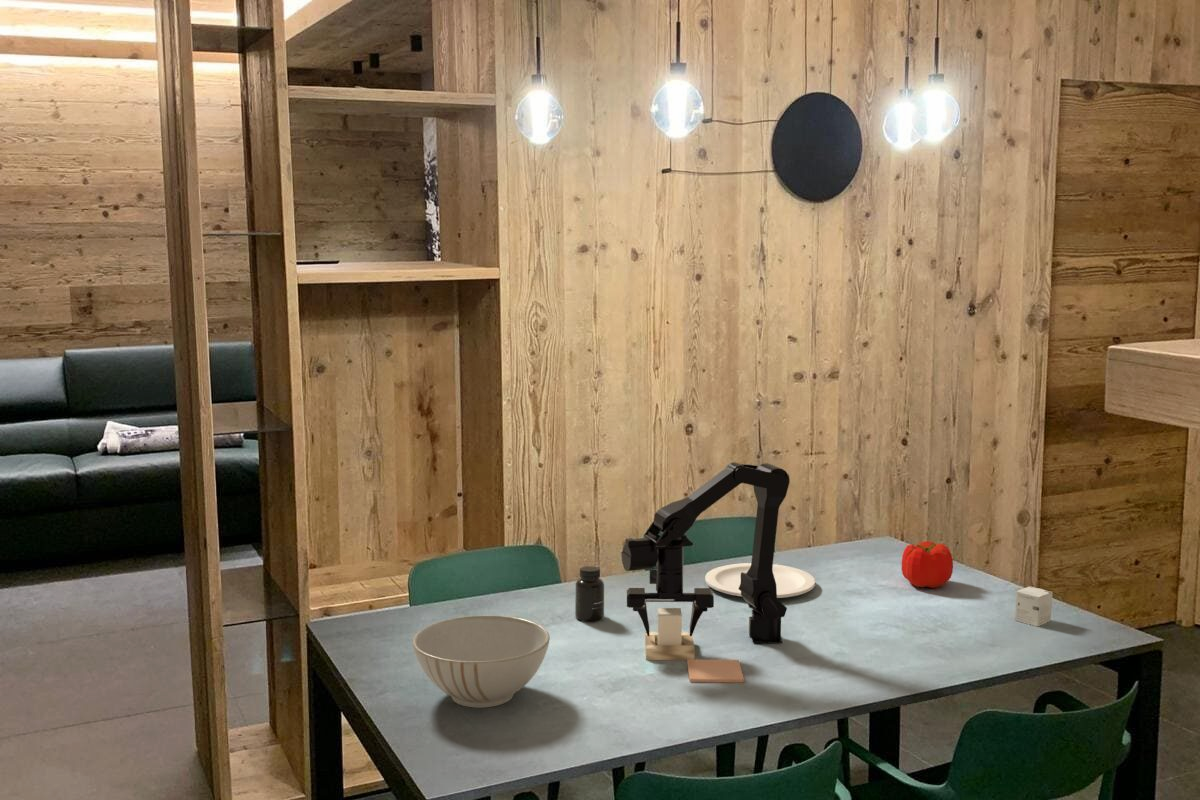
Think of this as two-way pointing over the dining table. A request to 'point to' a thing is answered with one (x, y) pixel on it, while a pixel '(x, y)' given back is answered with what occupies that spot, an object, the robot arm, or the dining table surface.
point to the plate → (785, 577)
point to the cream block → (669, 626)
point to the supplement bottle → (589, 595)
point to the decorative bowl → (481, 657)
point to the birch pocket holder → (669, 648)
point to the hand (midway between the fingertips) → (669, 635)
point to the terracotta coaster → (714, 671)
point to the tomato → (927, 564)
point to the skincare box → (1033, 606)
